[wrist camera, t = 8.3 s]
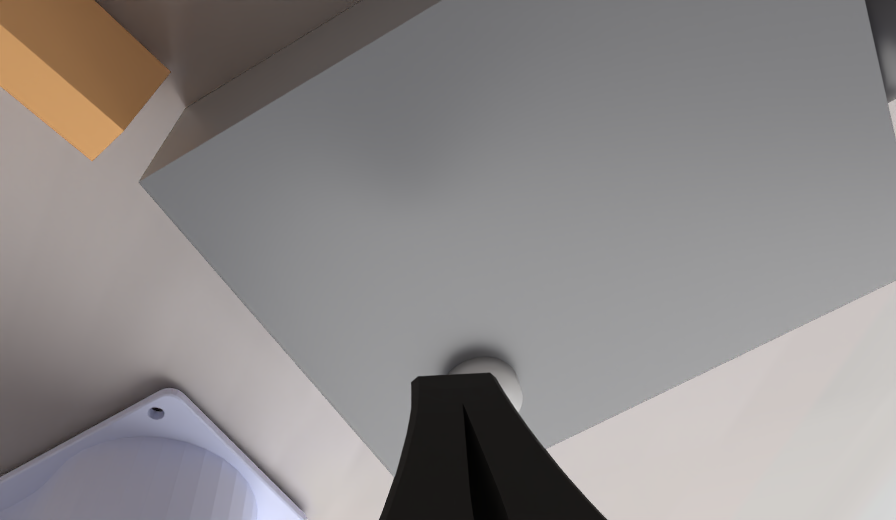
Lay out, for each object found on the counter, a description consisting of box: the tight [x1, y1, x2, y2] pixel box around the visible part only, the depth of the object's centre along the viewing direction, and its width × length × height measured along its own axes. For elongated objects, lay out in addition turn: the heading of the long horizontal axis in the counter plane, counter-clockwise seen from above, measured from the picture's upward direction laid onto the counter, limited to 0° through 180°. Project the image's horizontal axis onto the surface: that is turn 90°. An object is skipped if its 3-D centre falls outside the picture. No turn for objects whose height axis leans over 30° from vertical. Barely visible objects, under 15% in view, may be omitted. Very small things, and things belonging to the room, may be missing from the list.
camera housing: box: [139, 0, 896, 477], centre depth 19 cm, size 17×12×6 cm
